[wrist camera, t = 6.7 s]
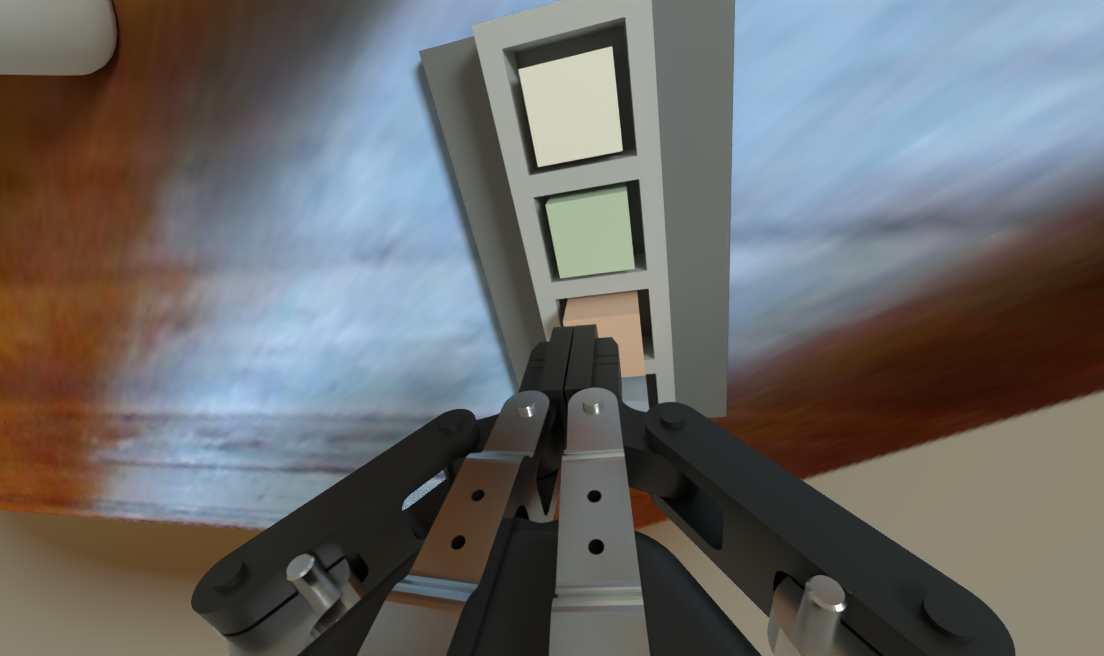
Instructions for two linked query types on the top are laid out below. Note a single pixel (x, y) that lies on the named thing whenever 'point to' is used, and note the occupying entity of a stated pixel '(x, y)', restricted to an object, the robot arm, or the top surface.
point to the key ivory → (573, 107)
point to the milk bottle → (56, 36)
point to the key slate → (635, 392)
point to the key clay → (612, 324)
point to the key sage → (591, 230)
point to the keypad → (606, 176)
